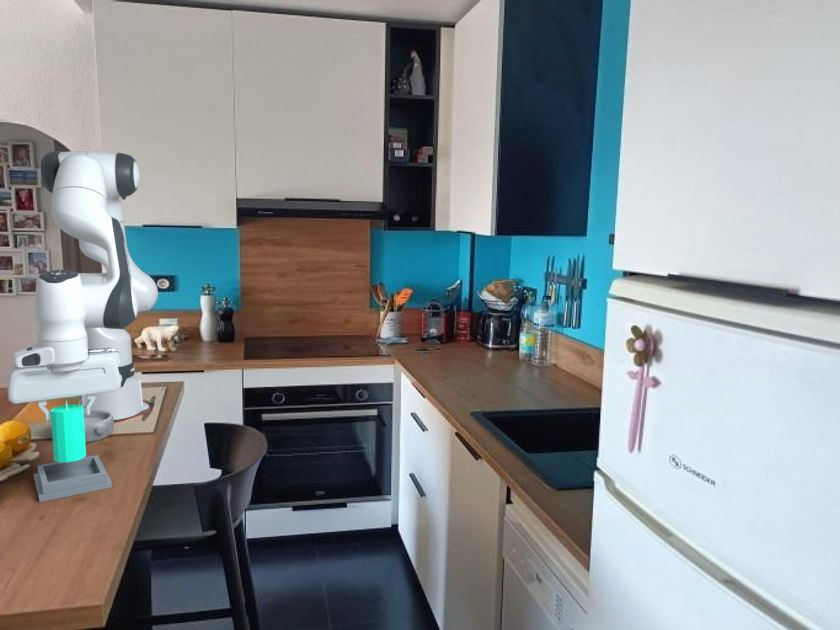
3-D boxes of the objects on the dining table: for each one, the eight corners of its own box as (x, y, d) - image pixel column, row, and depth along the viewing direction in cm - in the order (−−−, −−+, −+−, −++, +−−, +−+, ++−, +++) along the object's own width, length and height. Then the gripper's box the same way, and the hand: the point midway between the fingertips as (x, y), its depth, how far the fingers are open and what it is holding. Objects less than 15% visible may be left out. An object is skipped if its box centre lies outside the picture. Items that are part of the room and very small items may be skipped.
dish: (112, 442, 159) (111, 422, 158) (48, 448, 154) (46, 428, 153) (116, 423, 173) (115, 405, 172) (56, 428, 167) (55, 410, 167)
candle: (71, 464, 130) (67, 406, 128) (46, 460, 132) (42, 403, 130) (93, 453, 136) (89, 398, 134) (69, 450, 138) (65, 395, 136)
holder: (34, 478, 137) (33, 465, 137) (101, 465, 145) (100, 453, 144) (39, 502, 127) (38, 487, 126) (112, 487, 134) (111, 473, 133)
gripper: (116, 343, 139) (120, 406, 141) (4, 353, 128) (9, 421, 130) (122, 349, 134) (125, 413, 136) (5, 360, 123) (11, 430, 125)
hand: (68, 417), depth 133 cm, fingers closed on candle, 5 cm apart
